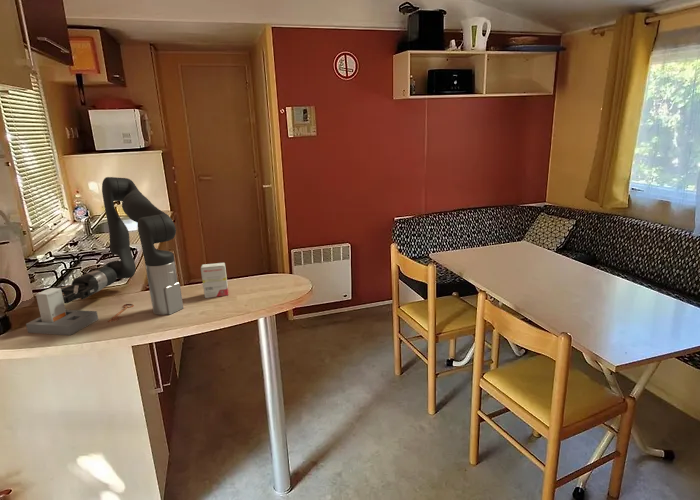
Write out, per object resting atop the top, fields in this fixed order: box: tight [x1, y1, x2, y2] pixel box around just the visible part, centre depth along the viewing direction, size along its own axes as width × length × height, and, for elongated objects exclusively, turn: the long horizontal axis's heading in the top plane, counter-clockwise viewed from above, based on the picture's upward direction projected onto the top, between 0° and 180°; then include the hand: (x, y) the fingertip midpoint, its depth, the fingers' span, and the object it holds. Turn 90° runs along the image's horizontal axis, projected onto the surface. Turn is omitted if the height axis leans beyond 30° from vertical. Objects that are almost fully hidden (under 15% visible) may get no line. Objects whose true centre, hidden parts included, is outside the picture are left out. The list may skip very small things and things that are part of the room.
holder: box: [25, 309, 99, 336], centre depth 151 cm, size 16×12×3 cm
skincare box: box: [35, 287, 67, 323], centre depth 151 cm, size 6×4×12 cm
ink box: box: [200, 262, 229, 299], centre depth 172 cm, size 9×5×12 cm, turn 102°
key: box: [107, 303, 135, 323], centre depth 160 cm, size 6×1×15 cm
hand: (53, 300), depth 151 cm, fingers open, 8 cm apart
